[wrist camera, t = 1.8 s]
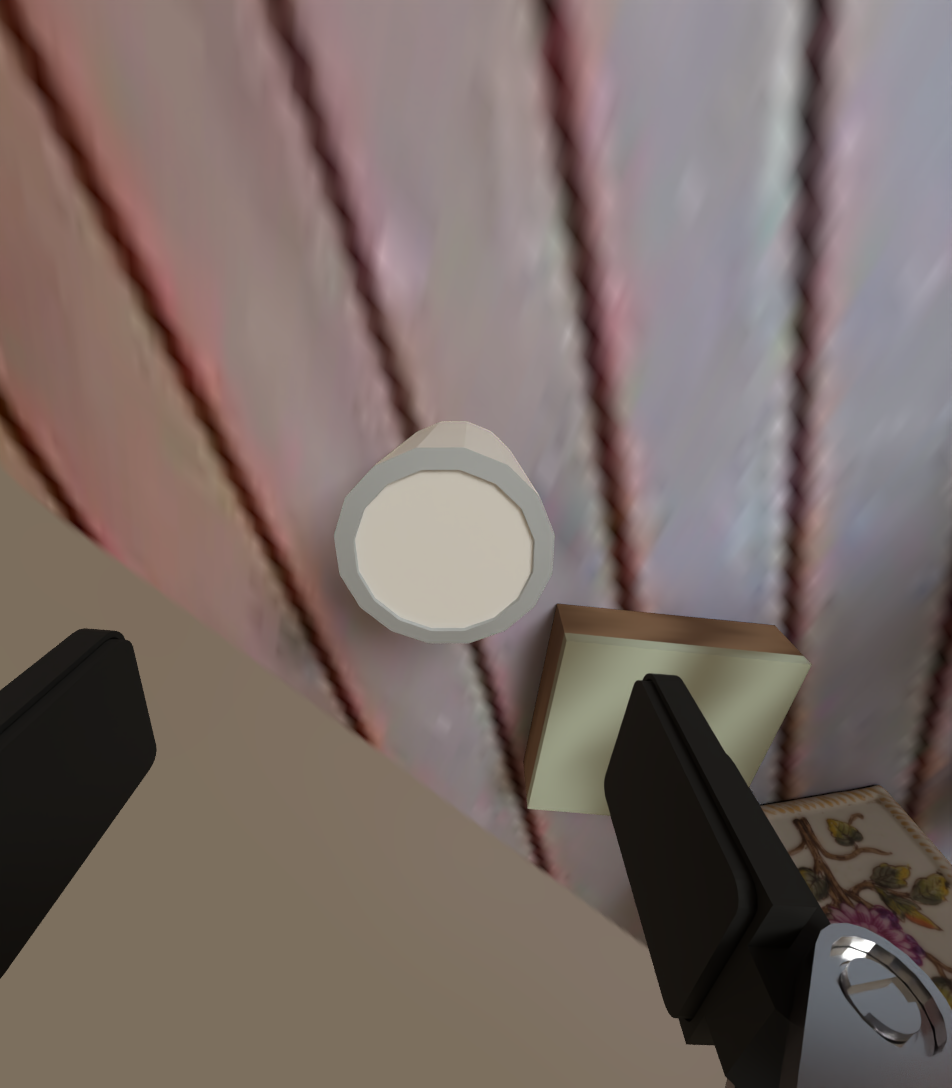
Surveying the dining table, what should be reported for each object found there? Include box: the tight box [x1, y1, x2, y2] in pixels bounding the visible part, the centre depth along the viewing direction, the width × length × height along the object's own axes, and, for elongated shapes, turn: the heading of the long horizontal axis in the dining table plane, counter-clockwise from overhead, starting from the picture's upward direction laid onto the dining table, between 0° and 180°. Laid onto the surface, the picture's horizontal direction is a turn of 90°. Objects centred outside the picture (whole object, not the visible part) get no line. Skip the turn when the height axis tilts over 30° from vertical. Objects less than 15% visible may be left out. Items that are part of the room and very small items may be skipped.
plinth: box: [523, 604, 812, 816], centre depth 25 cm, size 11×11×3 cm
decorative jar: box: [760, 785, 952, 1010], centre depth 24 cm, size 12×12×18 cm
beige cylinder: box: [334, 421, 555, 643], centre depth 18 cm, size 7×7×7 cm
